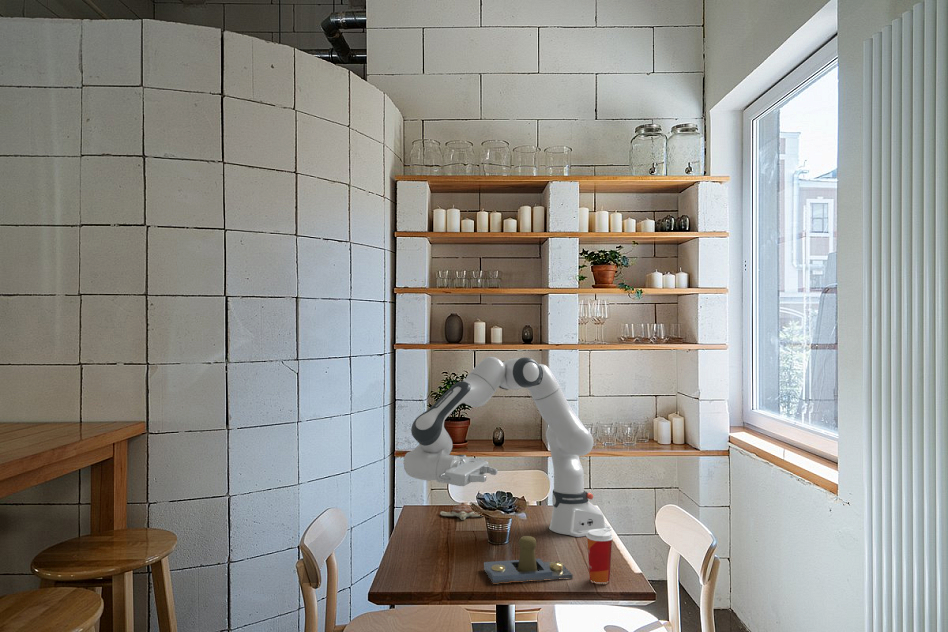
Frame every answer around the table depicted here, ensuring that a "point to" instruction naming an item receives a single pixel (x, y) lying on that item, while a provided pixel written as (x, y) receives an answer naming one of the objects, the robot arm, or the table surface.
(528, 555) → the olive green pepper mill
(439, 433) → the robot arm
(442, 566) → the table surface
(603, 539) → the paper cup
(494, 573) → the slotted plate with knobs
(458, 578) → the table surface
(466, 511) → the decorative turtle
